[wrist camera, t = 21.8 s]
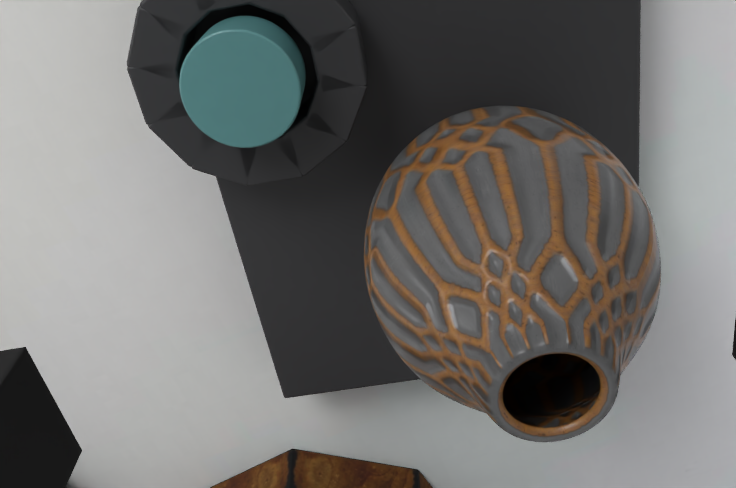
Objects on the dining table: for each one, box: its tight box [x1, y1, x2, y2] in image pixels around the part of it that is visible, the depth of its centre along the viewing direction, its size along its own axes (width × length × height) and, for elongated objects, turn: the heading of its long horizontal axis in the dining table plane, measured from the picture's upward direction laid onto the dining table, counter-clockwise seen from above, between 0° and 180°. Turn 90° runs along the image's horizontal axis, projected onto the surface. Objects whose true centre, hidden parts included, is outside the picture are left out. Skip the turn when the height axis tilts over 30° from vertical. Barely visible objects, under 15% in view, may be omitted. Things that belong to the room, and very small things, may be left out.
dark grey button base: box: [127, 0, 641, 398], centre depth 20 cm, size 14×13×4 cm
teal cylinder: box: [179, 16, 306, 148], centre depth 17 cm, size 3×3×2 cm
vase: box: [364, 106, 661, 442], centre depth 17 cm, size 7×7×9 cm
